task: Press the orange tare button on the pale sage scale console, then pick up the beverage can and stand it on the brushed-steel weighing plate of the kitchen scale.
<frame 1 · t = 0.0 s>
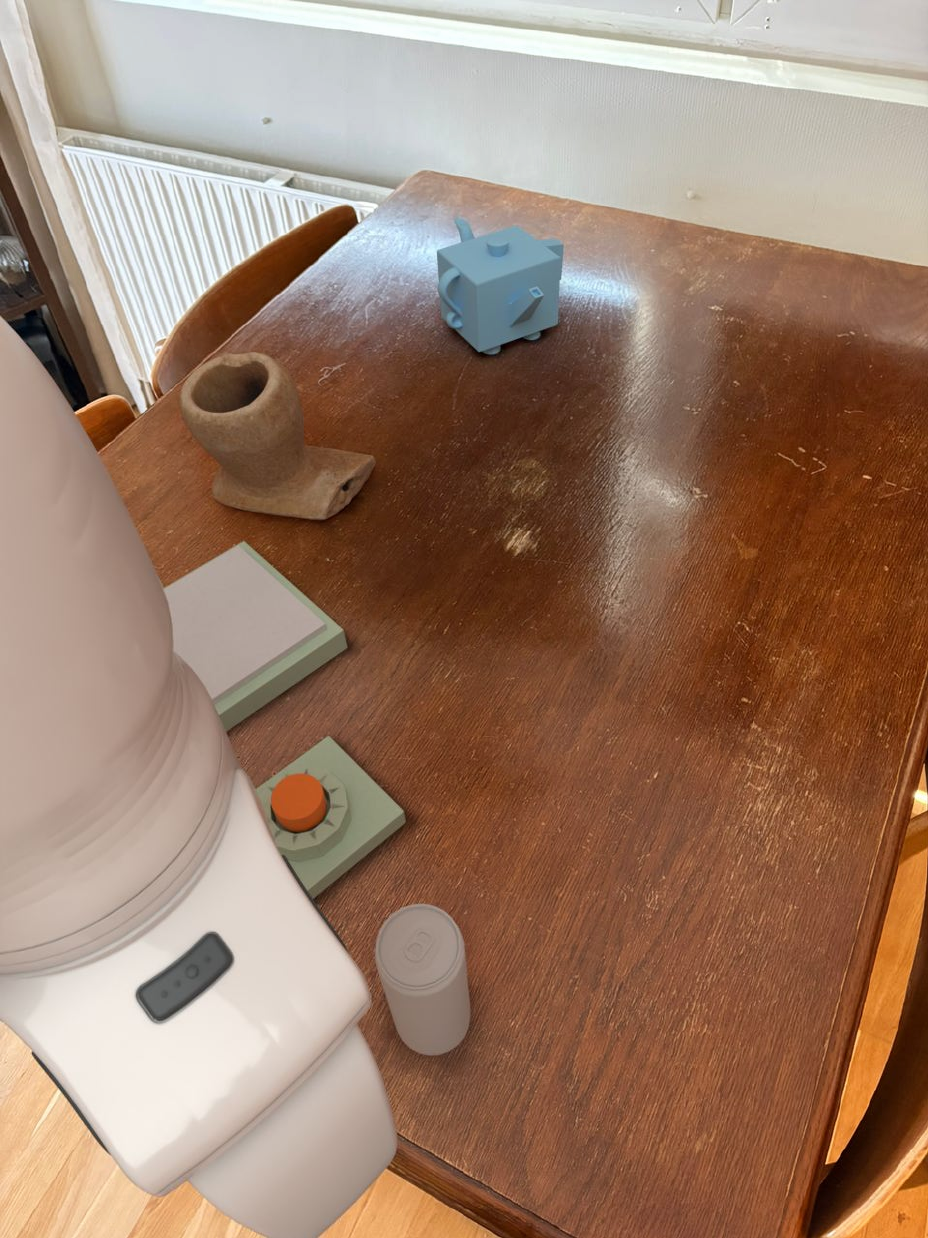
hand: (214, 1001, 35), 23 cm above the table, tool pointing down, fingers open, 8 cm apart
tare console: (309, 829, 65), on the table
scale: (225, 647, 77), on the table
tan stone pipe: (287, 499, 89), on the table
tare button: (299, 802, 62), point 4 cm above the table, slide at 0.1 cm
beverage can: (434, 1018, 56), on the table
teapot: (498, 329, 108), on the table
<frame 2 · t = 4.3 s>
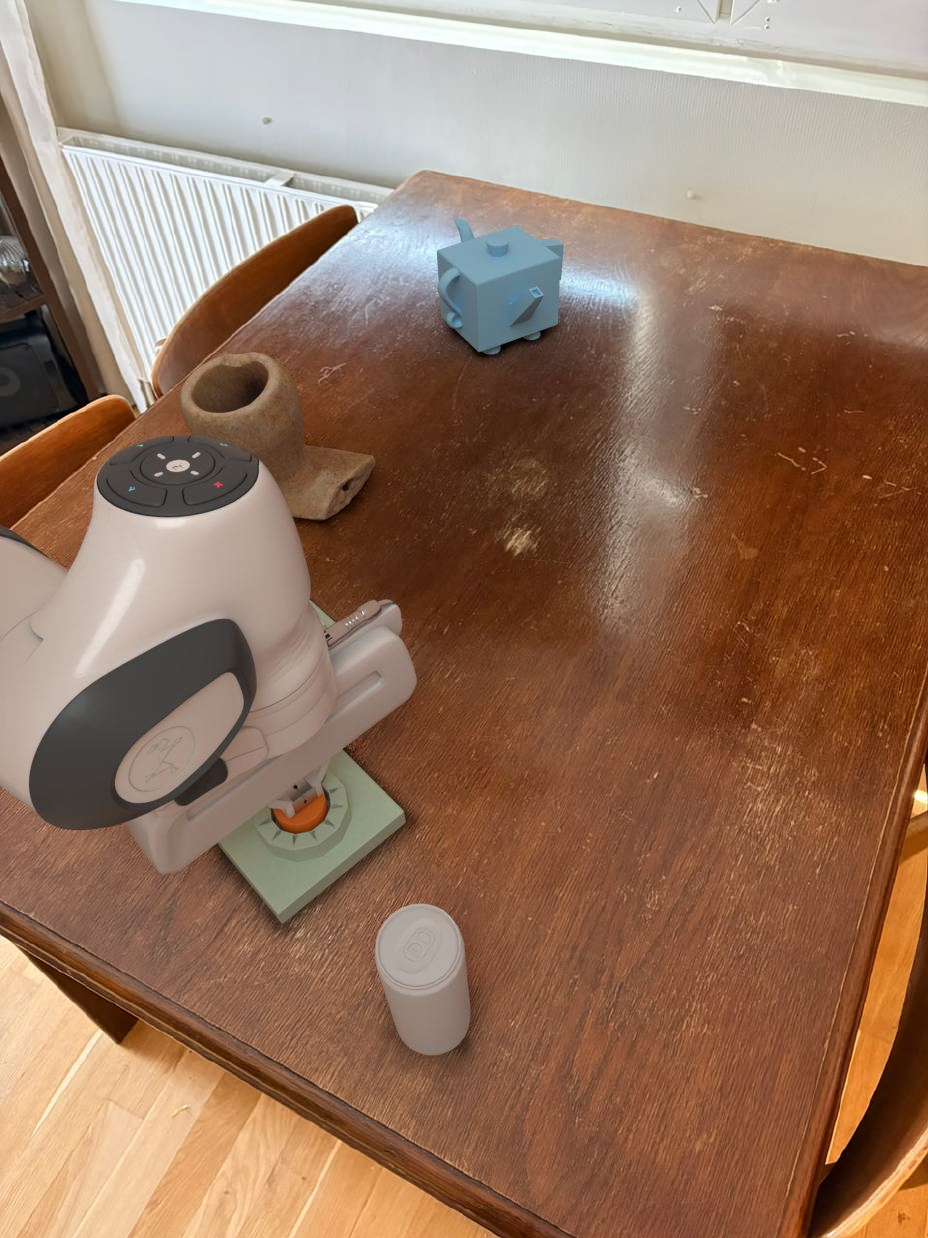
hand: (300, 800, 62), 4 cm above the table, tool pointing down, fingers closed, pressing on tare button
tare button: (301, 807, 63), point 3 cm above the table, slide at -0.6 cm, touching gripper
everything else where it was.
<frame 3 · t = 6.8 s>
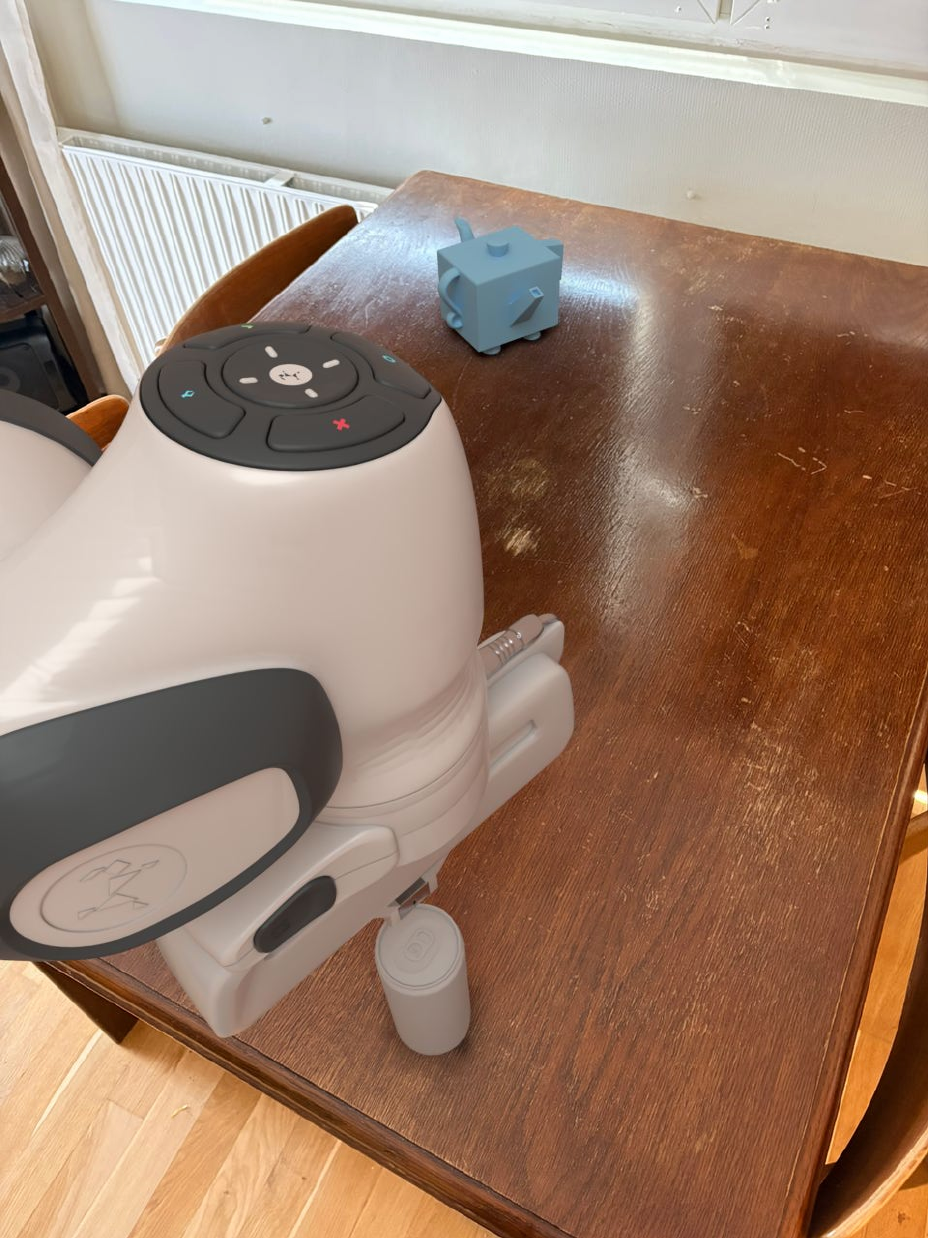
hand: (404, 897, 44), 17 cm above the table, tool pointing down, fingers closed
tare button: (299, 802, 62), point 4 cm above the table, slide at 0.1 cm
everything else where it was.
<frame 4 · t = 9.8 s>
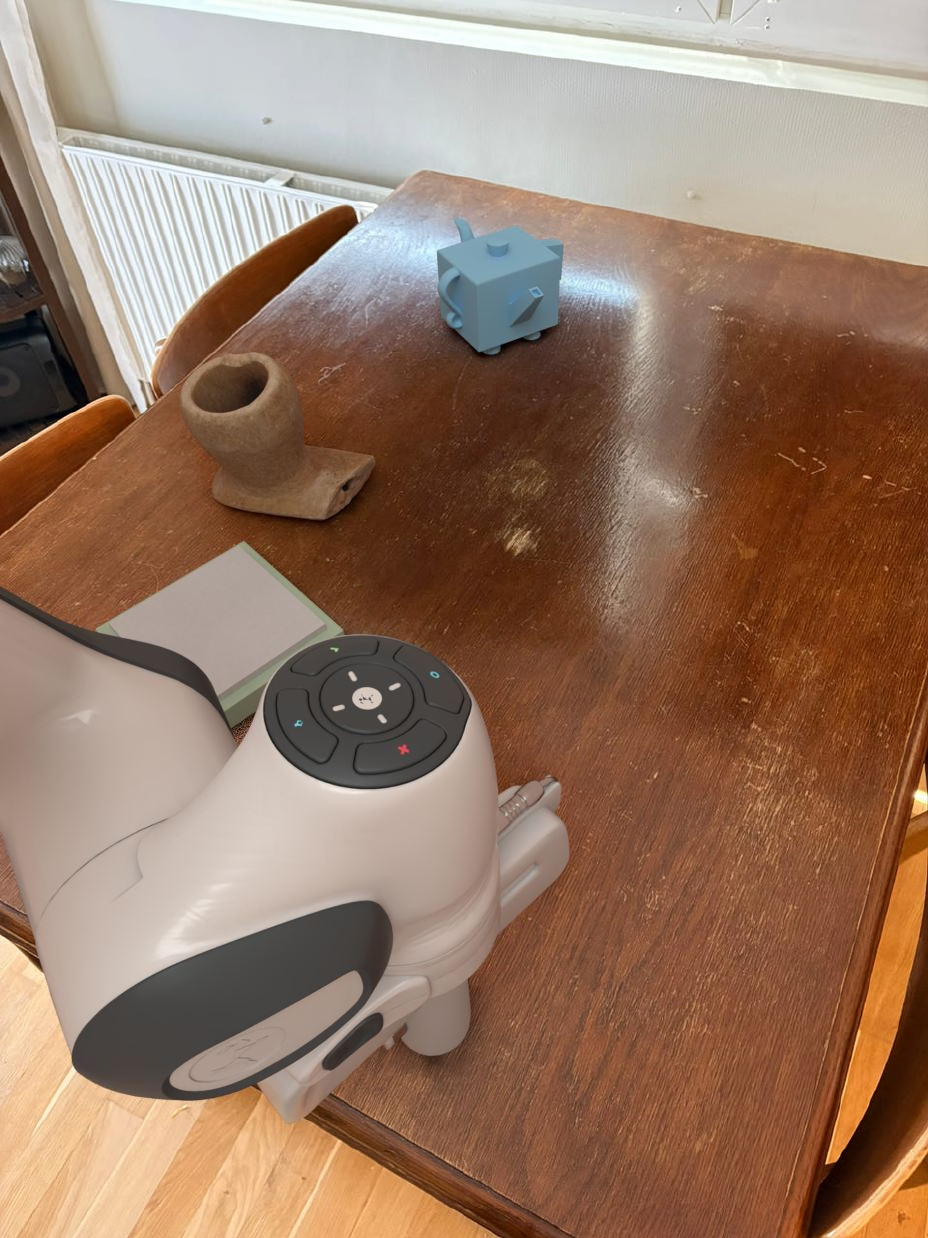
hand: (428, 993, 53), 5 cm above the table, tool pointing down, fingers closed on beverage can, 5 cm apart
beverage can: (434, 1018, 56), on the table, touching gripper
everything else where it was.
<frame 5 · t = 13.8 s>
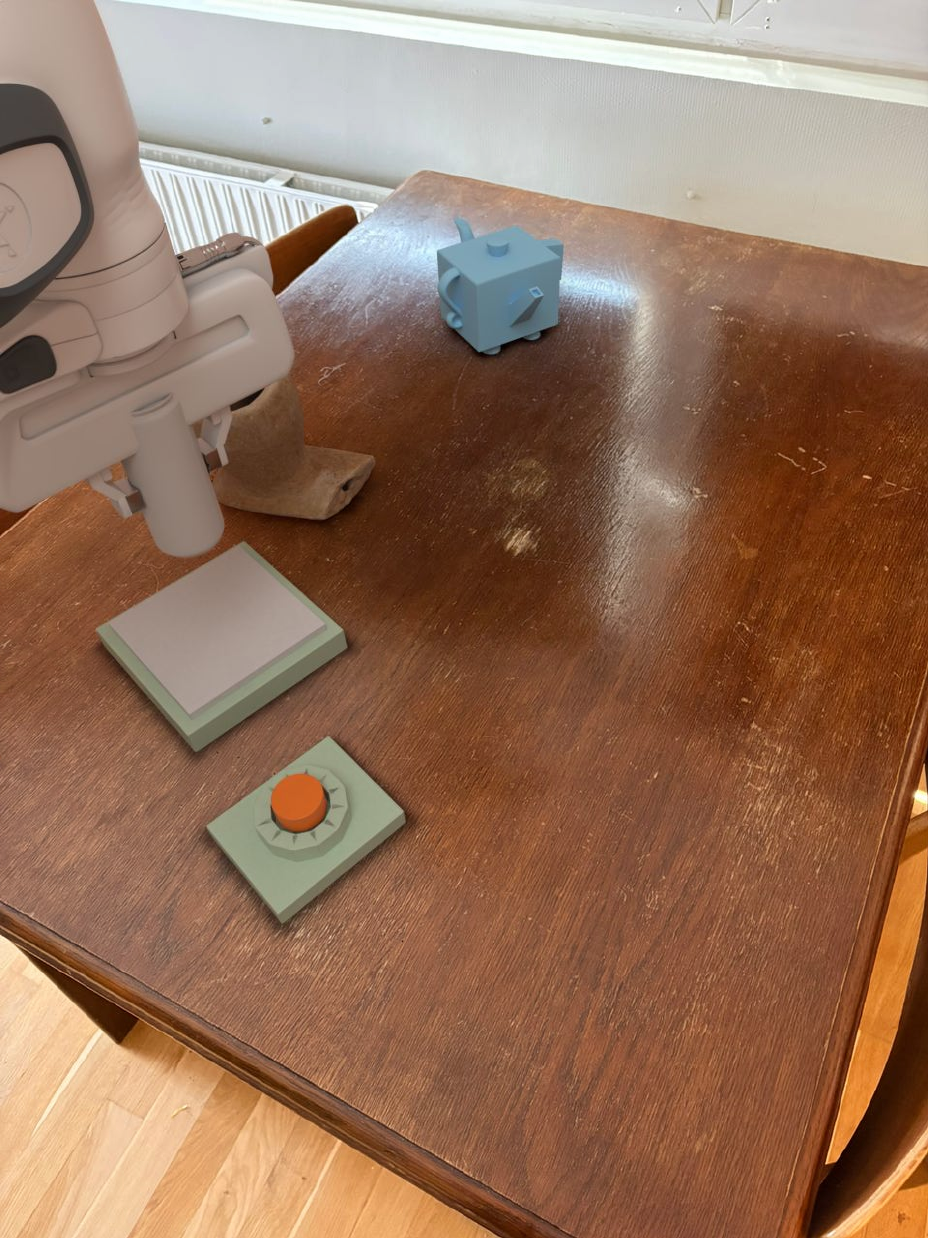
hand: (172, 487, 58), 21 cm above the table, tool pointing down, fingers closed on beverage can, 5 cm apart
beverage can: (192, 539, 62), point 16 cm above the table, touching gripper
everything else where it was.
when the fingers open (8 cm above the table, at t = 18.3 s): beverage can stays where it is, resting on scale.
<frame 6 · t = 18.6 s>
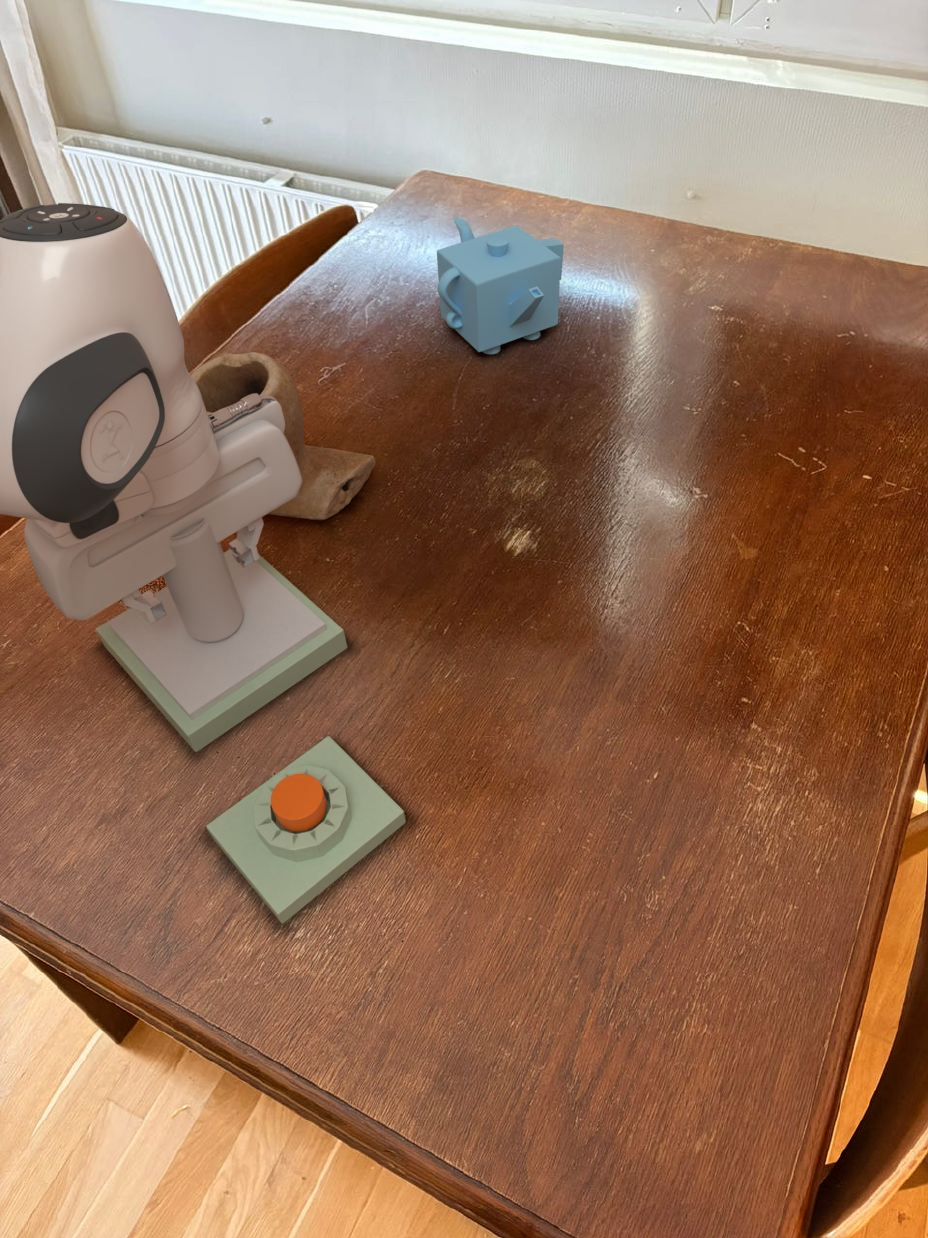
hand: (201, 587, 71), 8 cm above the table, tool pointing down, fingers open, 7 cm apart
beverage can: (216, 625, 74), point 3 cm above the table, touching scale
everything else where it was.
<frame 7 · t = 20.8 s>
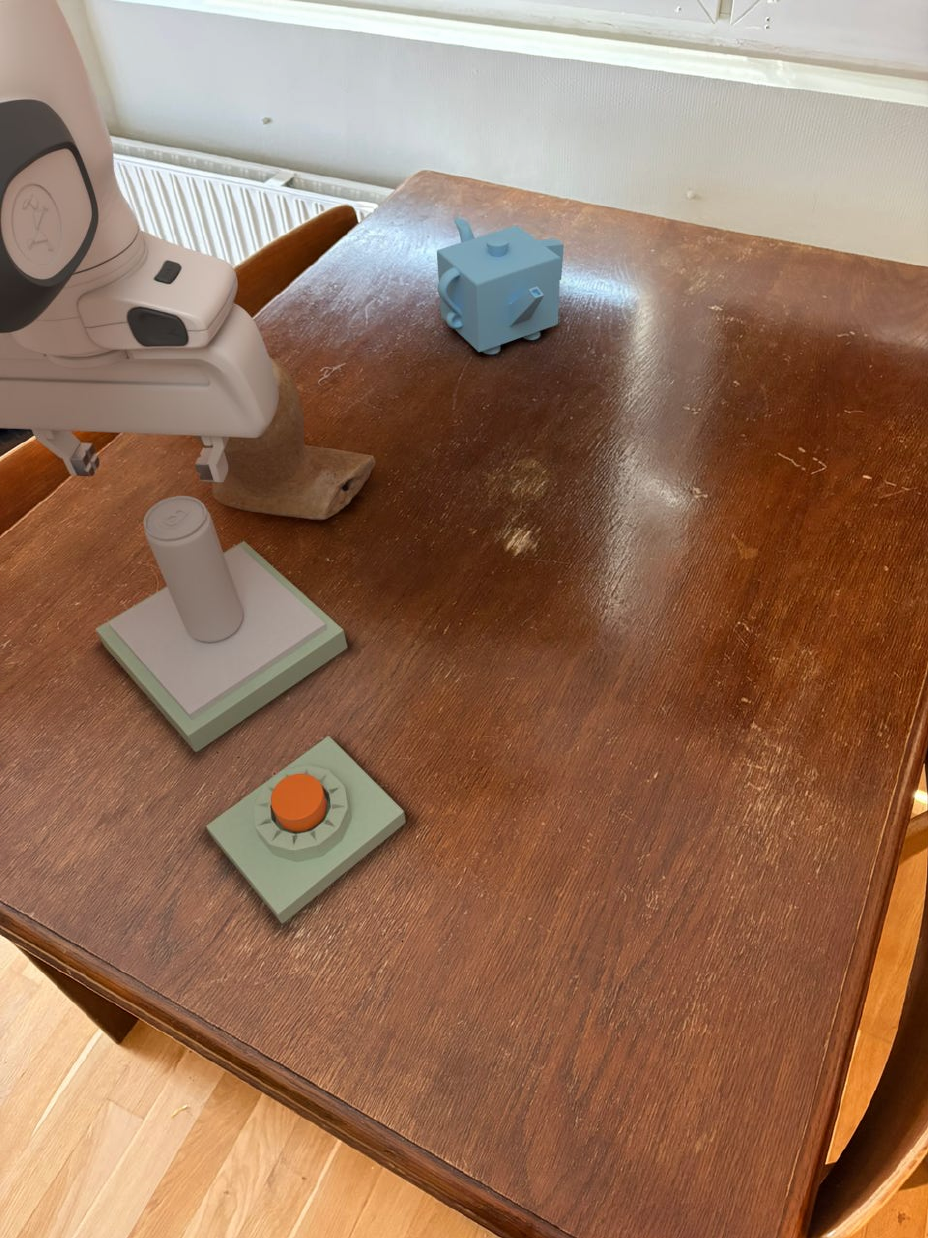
hand: (150, 473, 62), 19 cm above the table, tool pointing down, fingers open, 8 cm apart
nothing on the table moved.
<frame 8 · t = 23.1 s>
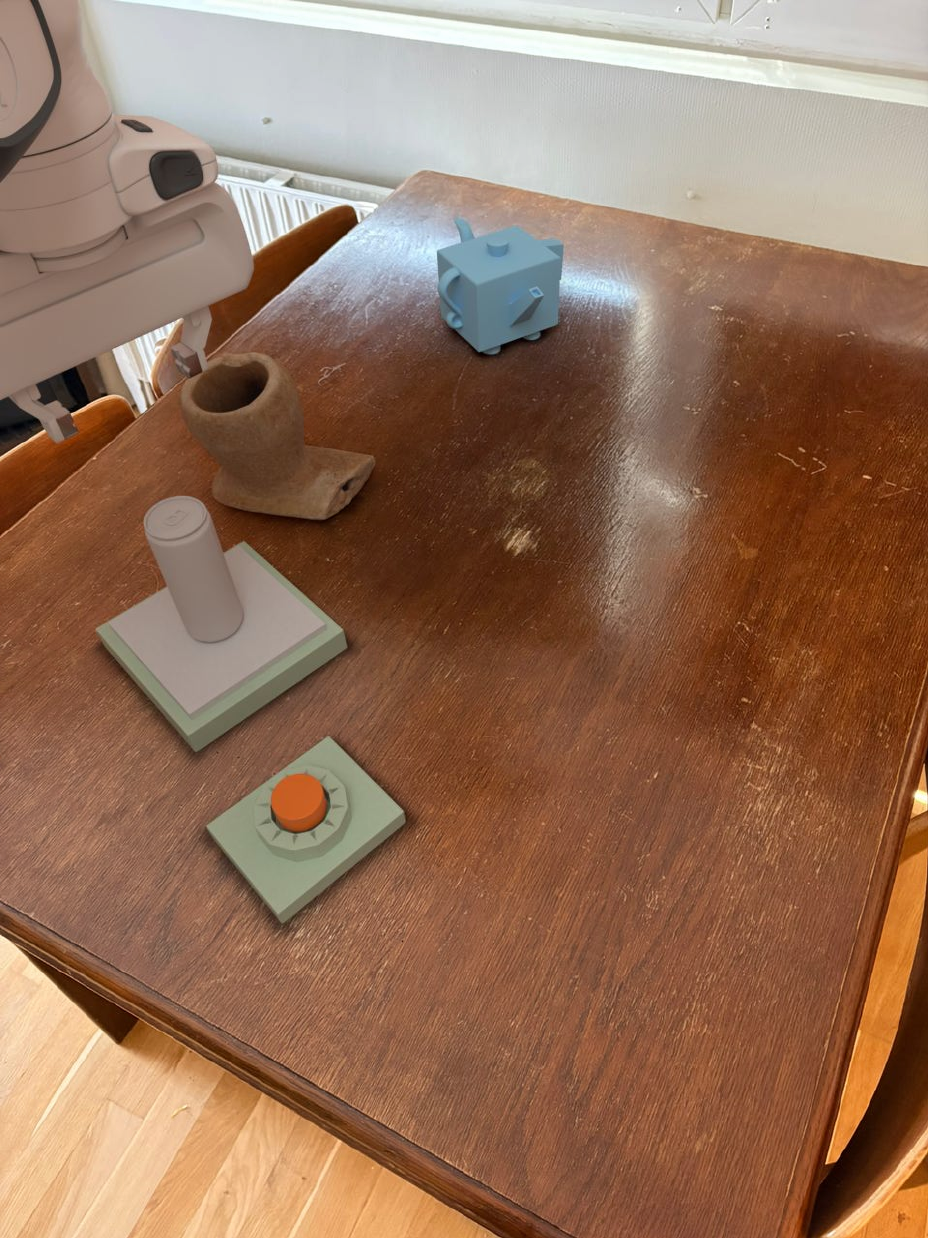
hand: (131, 401, 58), 25 cm above the table, tool pointing down, fingers open, 8 cm apart
nothing on the table moved.
at the end: tare button pushed in 1.1 cm at the most during the clip, back to where it started at the end; beverage can inside the target area on the scale (0.1 cm from its centre), point 3.0 cm above the scale's base; beverage can tilted 0° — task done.
